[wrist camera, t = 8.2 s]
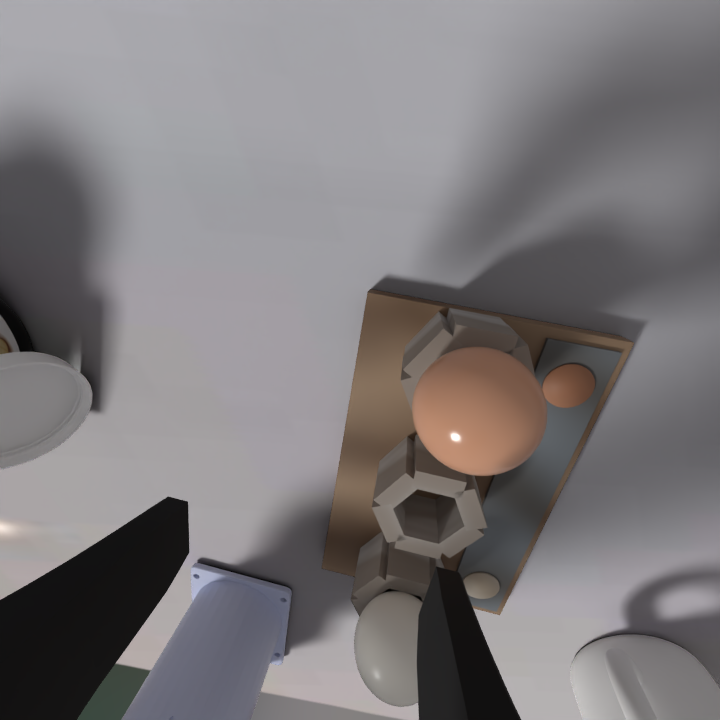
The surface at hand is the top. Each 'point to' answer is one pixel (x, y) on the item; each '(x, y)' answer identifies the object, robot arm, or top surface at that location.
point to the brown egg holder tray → (434, 479)
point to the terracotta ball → (479, 411)
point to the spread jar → (35, 396)
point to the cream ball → (389, 647)
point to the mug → (642, 681)
